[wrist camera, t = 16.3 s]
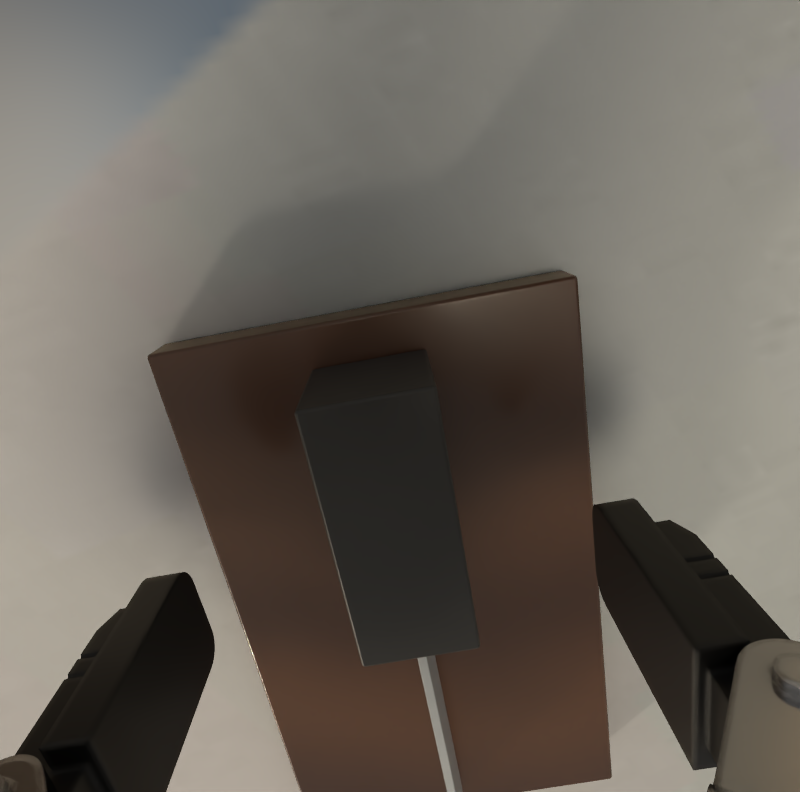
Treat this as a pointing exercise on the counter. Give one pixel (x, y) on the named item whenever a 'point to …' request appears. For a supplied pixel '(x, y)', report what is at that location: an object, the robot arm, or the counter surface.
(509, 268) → the counter surface
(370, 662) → the knife
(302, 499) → the board
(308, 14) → the counter surface
